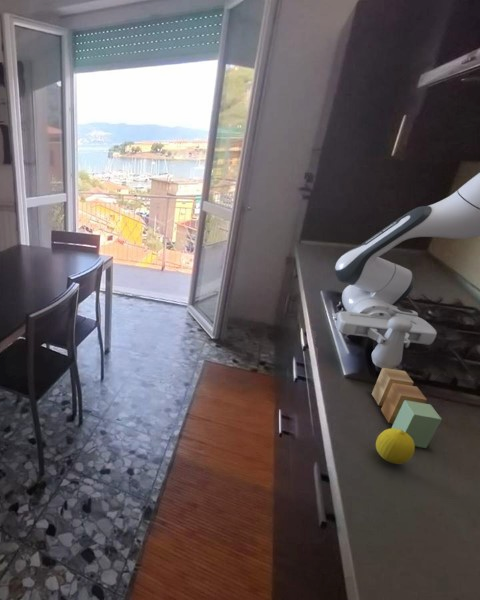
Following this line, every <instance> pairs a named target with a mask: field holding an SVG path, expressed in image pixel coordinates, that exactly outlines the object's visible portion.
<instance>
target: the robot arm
mask: <svg viewBox="0 0 480 600" xmlns="http://www.w3.org/2000/svg"><path fill="white" fill-rule="evenodd" d="M477 237H480V172H478V173H477V174H476V175H474V176H472V178H470V179H469V180H468V181H466V182H465V183H464V184H463V185H462V186H460V187H459V188H458V189H457V190H455V191H454V192H453V193H452V194H450V195H449V196H447V197H445V198H443V199H441V200H439V201H437V202H434V203H432V204H429V205H423V206H418V207H415V208H413V209H412V210H409V211H408V212H406V213H405V214H403V215H402V216H400V217H399V218H397V219H396V220H394V221H393V222H391V223H390V224H388V225H387V226H385V227H384V228H382V229H381V230H380V231H379V232H376V234H374V235H373V236H370V237H369V239H366V240H365V241H364V242H362V243H360V244H359V245H357V246H355V247H354V248H351V249H350V250H347V251H346V252H345V253H343V254H342V255H341V256H340V257H338V258H337V261H336V262H335V264H334V267H333V269H334V274H335V276H336V279H337V280H338V281H339V282H341V283H344V284H347V286H346V287H345V288H344V289H343V291H342V294H341V302H342V305H343V307H344V309H345V310H343V311H337V312H333V313H332V314H331V318H332V319H333V320H334V321H335V327H336V330H337V331H338V332H339V333H341V334H343V335H350V336H358V337H366V338H369V339H371V340H374V341H376V342H377V345H378V344H384V343H385V342H386V338H385V336H384V335H385V333H386V332H387V330H388V329H389V327H388V321H389V320H390V319H391V318H393V317H400V318H404V319H407V320H409V321H410V322H411V323H412V328H411V330H410V331H409V332H405V339H404V345H403V348H407V349H408V348H409V347H410V344H411V343H412V344H419V345H427V346H430V345H432V344H433V343H434V341H435V340H436V337H437V334H438V332H437V330H436V329H435V328H434V327H433V326H432V324H430V323H429V322H427V321H426V320H425V319H423V318H421V317H419V313H418V312H417V311H415V310H412V309H408V308H403V307H400V306H397V304H399V303H400V302H402V301H403V300H404V299H406V298H407V297H408V295H410V293H412V290H413V288H414V284H415V283H414V282H415V277H414V273H413V272H412V270H410V269H409V268H406V267H404V266H402V265H400V264H397V263H395V262H391V261H389V260H387V259H384V258H381V257H380V256H382V255H384V254H385V253H387V252H388V251H390V250H391V249H393V248H394V247H396V246H397V245H399V244H401V243H402V242H404V241H407V240H410V239H414V238H442V239H451V240H464V239H473V238H477Z"/></svg>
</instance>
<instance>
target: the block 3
mask: <svg viewBox="0 0 480 600" xmlns="http://www.w3.org/2000/svg"><path fill="white" fill-rule="evenodd" d="M442 420H443V419H442V417H441V416H440V415H439V414H438V413H437V410H435V408H434V407H433V406H432V404H431V403H425V404H424V403H418V402H413V401H407V400H404V402H403V404H402V407H401V409H400V411H399V413H398V415H397V417H396V419H395V421H394V424H392V426H391V429H393V428H394V429H399V430H402V431H404V432H406V433H407V434H408V435H410V437H411V438H412V439H413V441H414V444H415V447H417V448H424V449H427V447H428V446H429V444H430V442H431V440H432V439H433V437H434V435H435V433H436V431H437V430H438V427H439V426H440V424H441V422H442Z"/></svg>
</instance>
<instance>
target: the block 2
mask: <svg viewBox="0 0 480 600" xmlns="http://www.w3.org/2000/svg"><path fill="white" fill-rule="evenodd" d="M404 400H407V401H413V402H418V403H424V404H427V400H428V399H427V398H426V396H425V395H424V394H423V392H422V391H421V390H420V389H419V387H418V386H417V385H416V386H415V385H412V386H409V385H403V384H397V383H393V384H392V386H391V388H390V390H389V393H388V395H387V397H386V399H385V402H384V404H383V406H381V408H380V411H381V412H382V415H383V416H384V417H385V419H386V421H387V423H388V424H391V425H393V424H394V421H395V419H396V417H397V415H398V413H399V411H400V409H401V407H402V404H403V402H404Z"/></svg>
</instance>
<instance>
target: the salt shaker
mask: <svg viewBox="0 0 480 600" xmlns="http://www.w3.org/2000/svg"><path fill="white" fill-rule="evenodd" d="M388 327H389V329H388V330H387V332H386V333H385V335H384V336H385V338H386V342H385V343H384V344H378V343H377V344H376V346H375V347H374V349H373V351H372V352H371V360H372V363H373V364H374V365H375V367H378V368H380V369H382V368H388V369H396V367H398V366H400V364H401V363H402V361H403V354H404V347H403V345H404V339H405V332H409V331H410V330H411V328H412V323H411V322H410V321H409V320H407V319H404V318H400V317H393V318H391V319H390V320H389V321H388Z"/></svg>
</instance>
